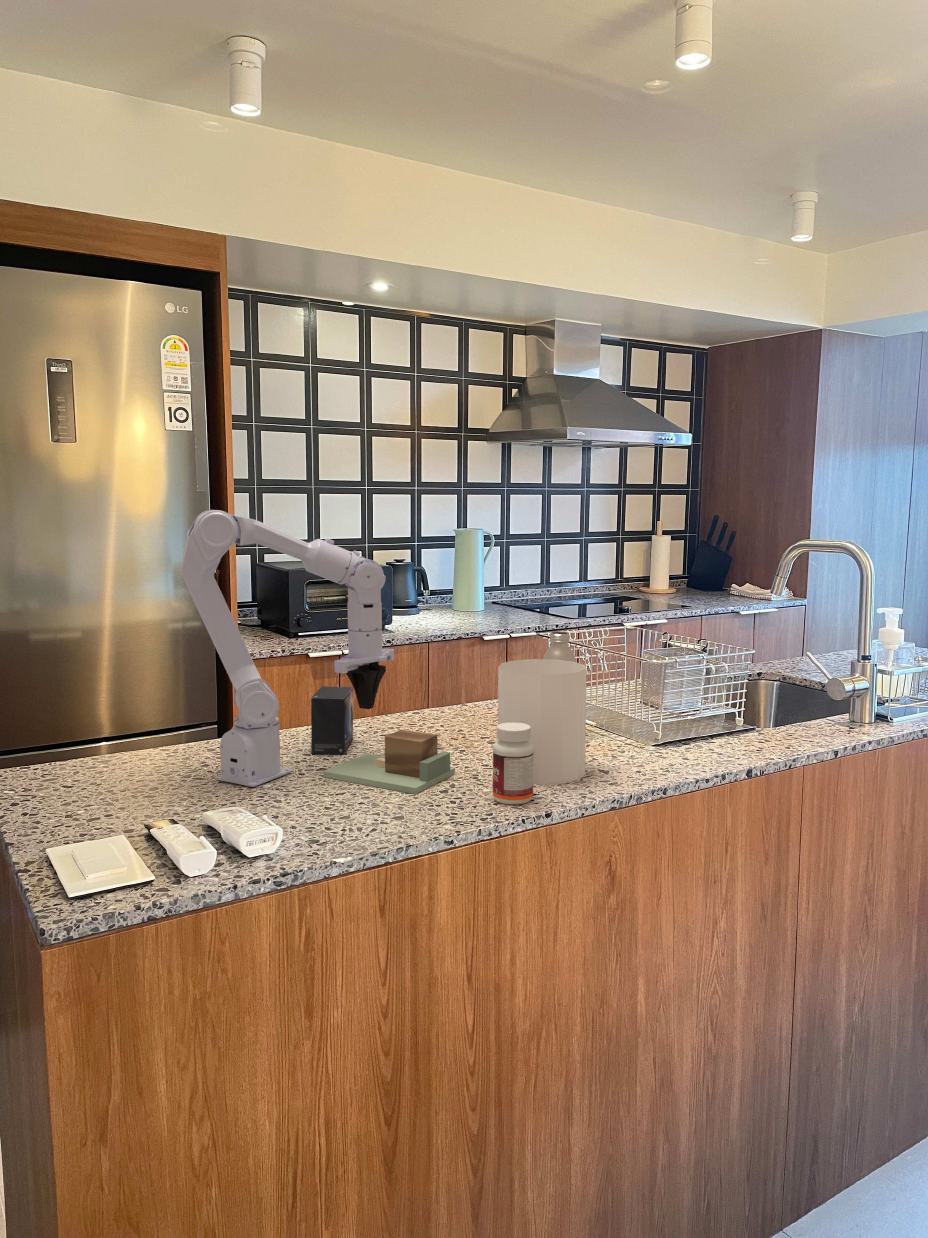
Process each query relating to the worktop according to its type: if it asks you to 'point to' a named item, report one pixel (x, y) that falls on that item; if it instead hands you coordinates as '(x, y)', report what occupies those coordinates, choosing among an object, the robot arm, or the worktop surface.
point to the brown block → (408, 751)
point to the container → (547, 714)
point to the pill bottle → (513, 764)
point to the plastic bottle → (559, 647)
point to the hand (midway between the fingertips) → (366, 708)
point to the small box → (331, 720)
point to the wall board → (373, 773)
